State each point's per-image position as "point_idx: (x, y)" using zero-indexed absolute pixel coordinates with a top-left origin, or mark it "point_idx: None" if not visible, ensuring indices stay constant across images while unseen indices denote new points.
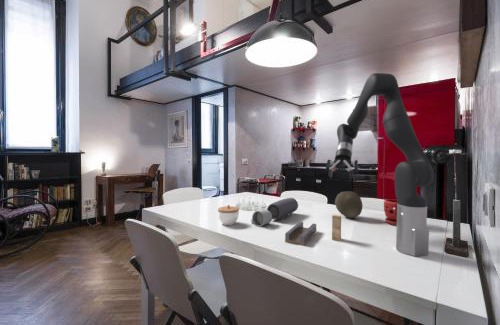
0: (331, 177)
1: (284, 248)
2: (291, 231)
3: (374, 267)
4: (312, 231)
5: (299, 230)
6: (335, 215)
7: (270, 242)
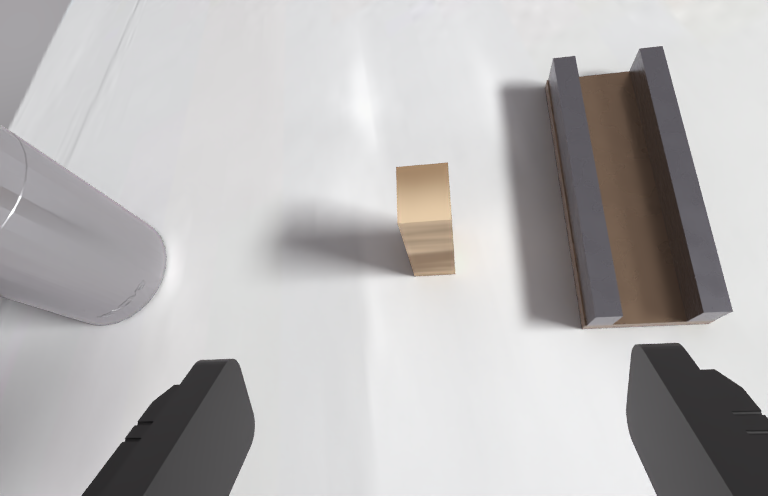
0: (636, 438)
1: (604, 18)
2: (653, 88)
3: (265, 51)
4: (573, 221)
5: (668, 237)
6: (432, 192)
7: (704, 37)
